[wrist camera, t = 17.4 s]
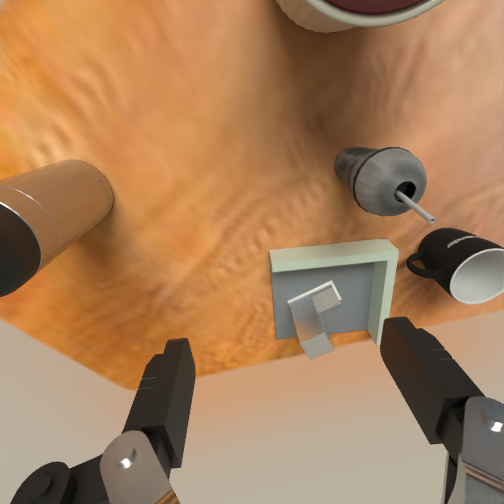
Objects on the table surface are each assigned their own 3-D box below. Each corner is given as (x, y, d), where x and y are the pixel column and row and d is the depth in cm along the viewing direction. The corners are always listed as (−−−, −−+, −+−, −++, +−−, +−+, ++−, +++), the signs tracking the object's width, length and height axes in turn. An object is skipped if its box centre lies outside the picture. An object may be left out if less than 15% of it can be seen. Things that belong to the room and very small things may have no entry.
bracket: (298, 317, 53) (310, 360, 44) (289, 302, 51) (299, 343, 42) (338, 299, 51) (359, 339, 42) (330, 282, 50) (350, 321, 41)
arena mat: (276, 337, 56) (276, 339, 55) (269, 250, 47) (269, 251, 47) (374, 327, 55) (375, 329, 55) (385, 238, 47) (386, 239, 46)
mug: (470, 216, 46) (527, 244, 37) (459, 265, 50) (508, 300, 41) (395, 226, 46) (433, 256, 37) (389, 274, 50) (423, 311, 41)
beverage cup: (375, 131, 39) (488, 152, 22) (375, 183, 43) (472, 239, 25) (322, 141, 40) (390, 170, 22) (326, 192, 43) (387, 254, 25)
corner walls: (276, 337, 56) (278, 355, 52) (269, 250, 47) (272, 263, 43) (374, 327, 55) (384, 344, 51) (385, 238, 47) (399, 250, 43)
